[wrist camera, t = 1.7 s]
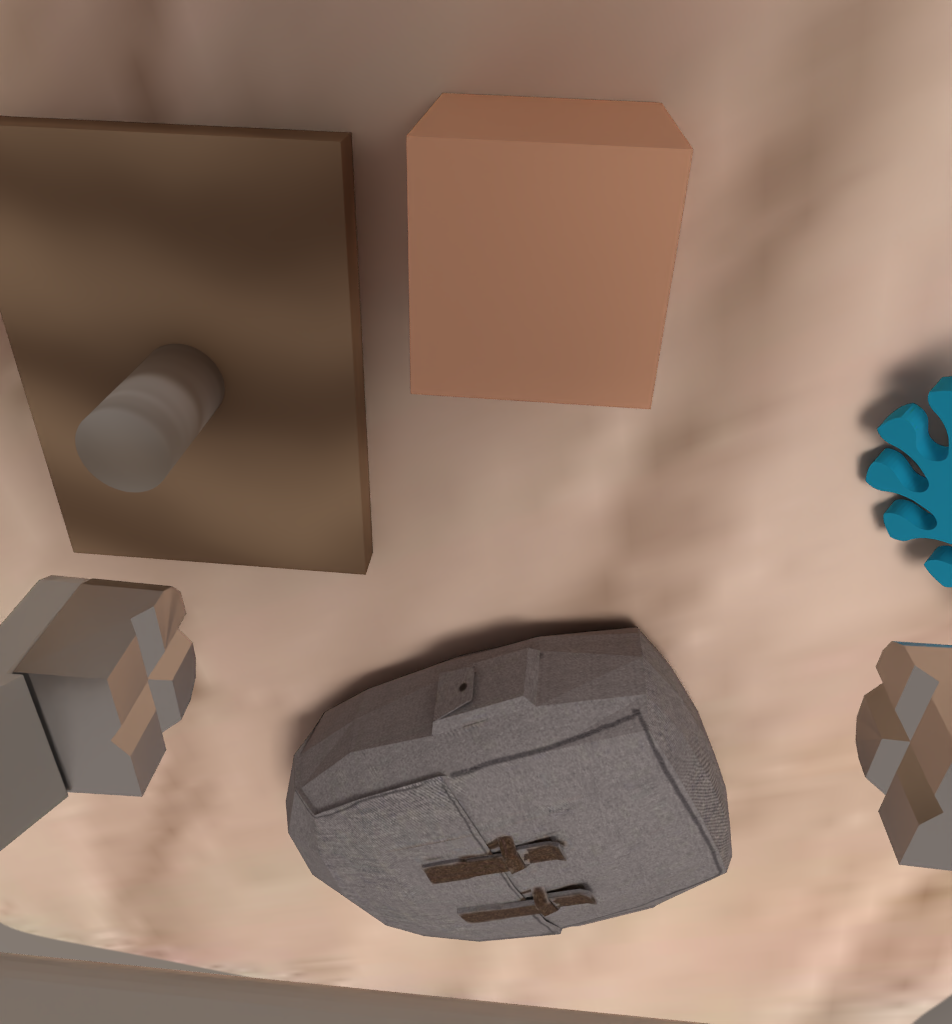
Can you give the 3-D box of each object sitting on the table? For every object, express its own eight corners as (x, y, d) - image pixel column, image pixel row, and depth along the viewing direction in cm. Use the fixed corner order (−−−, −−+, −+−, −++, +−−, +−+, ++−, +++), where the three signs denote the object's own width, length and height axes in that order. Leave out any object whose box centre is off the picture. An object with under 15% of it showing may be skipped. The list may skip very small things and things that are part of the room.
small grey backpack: (638, 561, 34) (243, 690, 40) (658, 718, 27) (177, 844, 33) (746, 787, 41) (397, 866, 47) (784, 956, 34) (368, 1023, 40)
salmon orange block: (442, 92, 24) (406, 136, 19) (661, 102, 24) (693, 149, 18) (441, 302, 28) (410, 393, 22) (631, 314, 28) (650, 409, 22)
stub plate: (-28, 114, 26) (-182, 156, 21) (351, 132, 25) (294, 180, 20) (91, 531, 35) (5, 636, 29) (372, 552, 34) (338, 663, 29)
